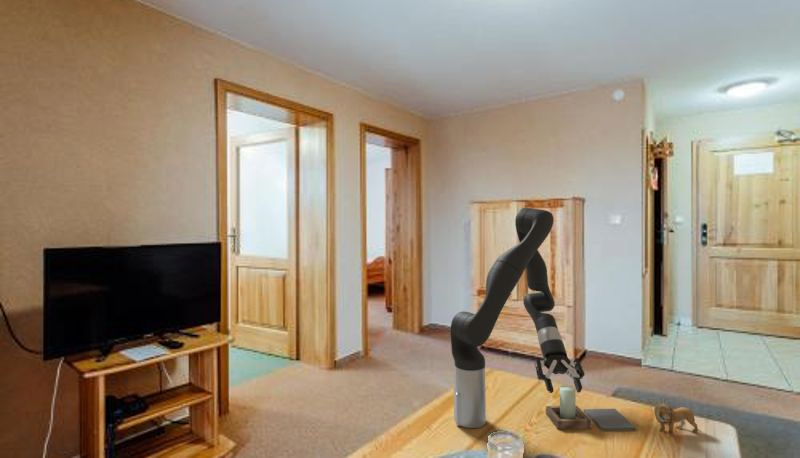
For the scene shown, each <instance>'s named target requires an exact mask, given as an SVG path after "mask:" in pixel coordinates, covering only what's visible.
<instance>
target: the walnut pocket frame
mask: <svg viewBox="0 0 800 458" xmlns="http://www.w3.org/2000/svg"><path fill="white" fill-rule="evenodd" d="M545 415H546V416H547V417H548V418H549V420H550V422H552V424H553V425H554V426H555V427H556V430H557V431H559V430H563V431H564V430H592V420H591V419H590V418H589V417H588V416H587V415H586V414H585V413H584V410H582V409H581V408H580V407H579V406H578V405H576V419H560V405H545Z"/></svg>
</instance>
